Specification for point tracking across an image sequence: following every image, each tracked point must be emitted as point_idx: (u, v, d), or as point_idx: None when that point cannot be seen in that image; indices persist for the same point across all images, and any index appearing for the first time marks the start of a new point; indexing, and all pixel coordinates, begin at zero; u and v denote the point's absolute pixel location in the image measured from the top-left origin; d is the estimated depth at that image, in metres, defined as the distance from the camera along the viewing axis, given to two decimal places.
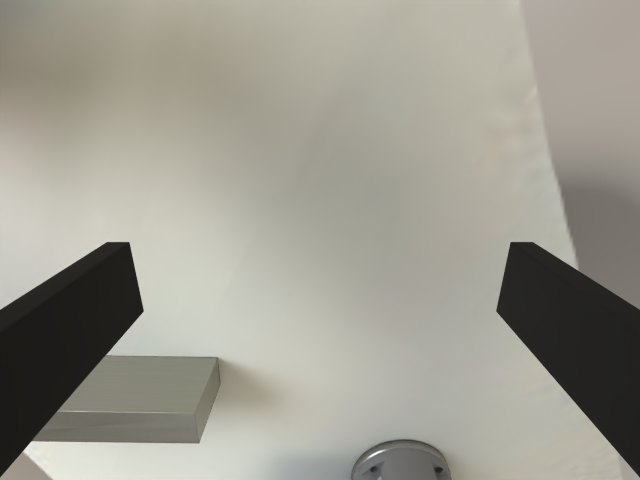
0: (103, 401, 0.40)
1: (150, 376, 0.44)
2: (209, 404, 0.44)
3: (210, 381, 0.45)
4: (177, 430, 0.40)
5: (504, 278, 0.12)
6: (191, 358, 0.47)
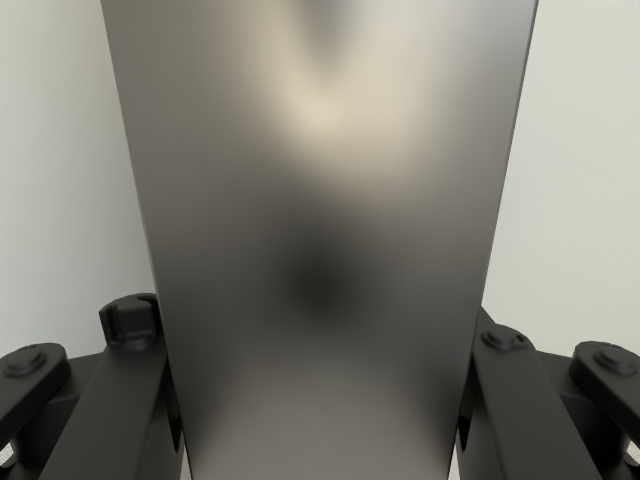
0: None
1: None
2: None
3: None
4: None
5: None
6: None
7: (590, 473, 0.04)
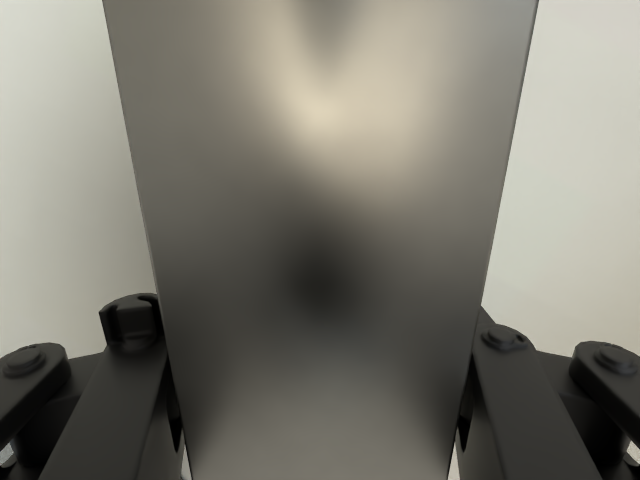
0: None
1: None
2: None
3: None
4: None
5: None
6: None
7: (590, 473, 0.04)
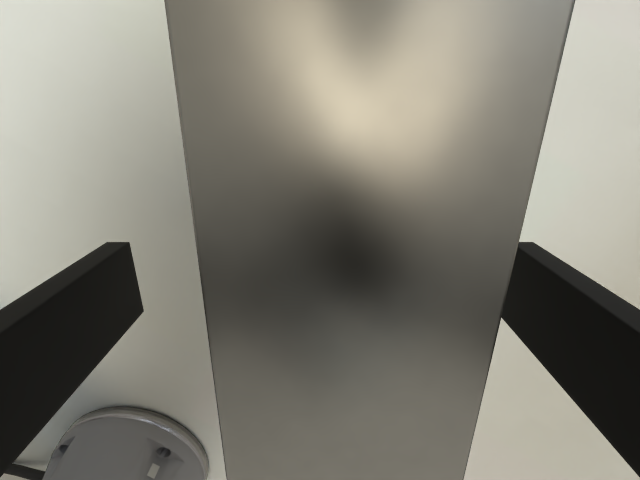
0: None
1: None
2: None
3: None
4: (324, 466, 0.07)
5: None
6: None
7: None
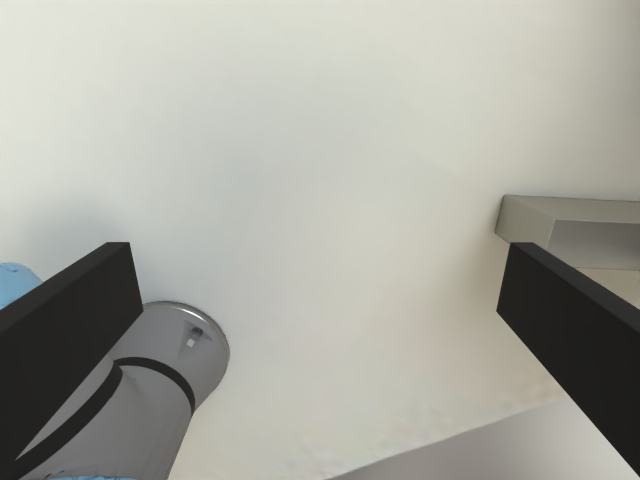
0: None
1: None
2: (523, 217, 0.36)
3: (511, 235, 0.38)
4: (572, 240, 0.32)
5: (504, 278, 0.12)
6: None
7: None
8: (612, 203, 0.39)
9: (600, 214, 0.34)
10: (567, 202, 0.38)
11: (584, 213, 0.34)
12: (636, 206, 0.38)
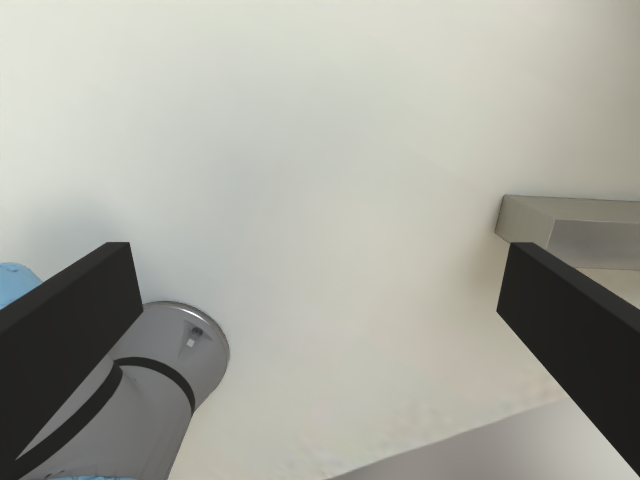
0: None
1: None
2: (523, 217, 0.36)
3: (511, 235, 0.38)
4: (572, 240, 0.32)
5: (504, 278, 0.12)
6: None
7: None
8: (612, 203, 0.39)
9: (600, 214, 0.34)
10: (567, 202, 0.38)
11: (584, 213, 0.34)
12: (636, 206, 0.38)
